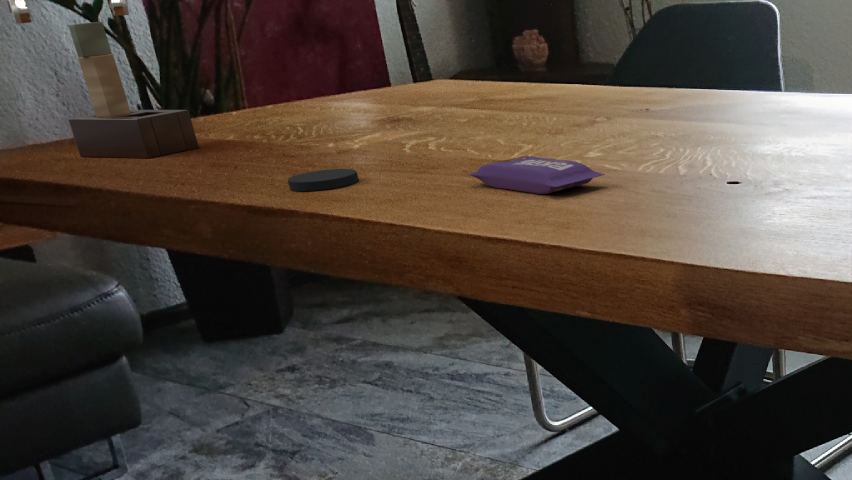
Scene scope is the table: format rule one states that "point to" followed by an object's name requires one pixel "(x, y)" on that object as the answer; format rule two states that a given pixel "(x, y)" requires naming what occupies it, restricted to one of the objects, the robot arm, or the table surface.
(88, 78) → the green and tan bar
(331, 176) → the coaster
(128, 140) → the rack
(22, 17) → the robot arm
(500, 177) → the snack package
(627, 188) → the table surface
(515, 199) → the table surface
